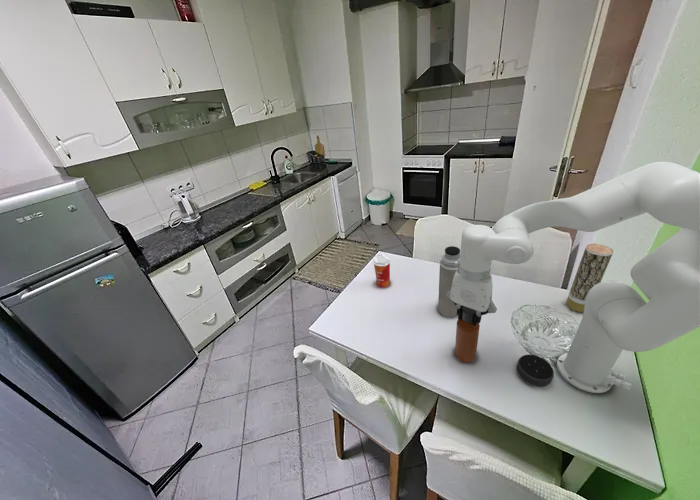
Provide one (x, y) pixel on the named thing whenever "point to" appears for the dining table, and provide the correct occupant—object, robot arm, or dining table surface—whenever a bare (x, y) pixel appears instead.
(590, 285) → the paper tube
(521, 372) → the smart speaker
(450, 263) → the thermos bottle
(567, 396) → the dining table surface
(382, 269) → the paper cup
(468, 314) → the cap
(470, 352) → the sauce bottle
